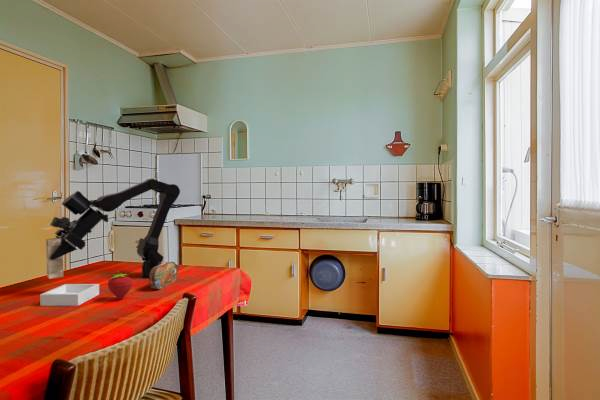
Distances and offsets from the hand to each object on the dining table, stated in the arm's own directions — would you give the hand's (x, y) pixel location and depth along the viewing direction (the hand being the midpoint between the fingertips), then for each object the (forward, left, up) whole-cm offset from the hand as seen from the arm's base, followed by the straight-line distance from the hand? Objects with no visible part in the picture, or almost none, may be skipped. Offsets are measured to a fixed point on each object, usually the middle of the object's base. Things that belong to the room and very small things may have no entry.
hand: (49, 258), depth 120 cm
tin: (-35, -10, -13) cm, 38 cm away
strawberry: (-27, +6, -13) cm, 30 cm away
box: (-11, +6, -12) cm, 17 cm away
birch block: (-1, -1, -7) cm, 7 cm away
